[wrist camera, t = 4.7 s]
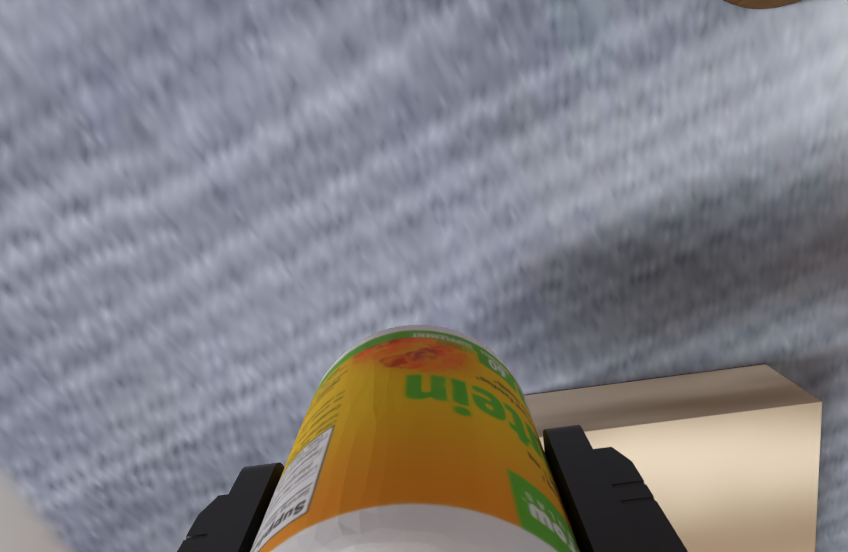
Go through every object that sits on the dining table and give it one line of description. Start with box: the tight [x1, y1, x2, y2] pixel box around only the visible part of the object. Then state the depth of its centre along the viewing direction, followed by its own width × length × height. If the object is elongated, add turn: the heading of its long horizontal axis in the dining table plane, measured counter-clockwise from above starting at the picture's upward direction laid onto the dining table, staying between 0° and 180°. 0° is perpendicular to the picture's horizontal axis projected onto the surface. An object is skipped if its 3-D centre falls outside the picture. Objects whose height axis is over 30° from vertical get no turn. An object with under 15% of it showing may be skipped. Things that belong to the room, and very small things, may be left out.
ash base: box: [524, 364, 822, 552], centre depth 20 cm, size 10×10×3 cm
